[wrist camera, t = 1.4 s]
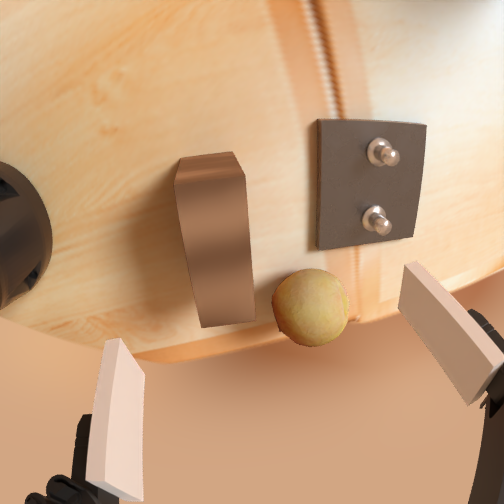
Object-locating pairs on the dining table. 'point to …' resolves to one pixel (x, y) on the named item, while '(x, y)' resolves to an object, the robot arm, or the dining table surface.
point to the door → (216, 237)
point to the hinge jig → (367, 180)
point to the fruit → (311, 307)
